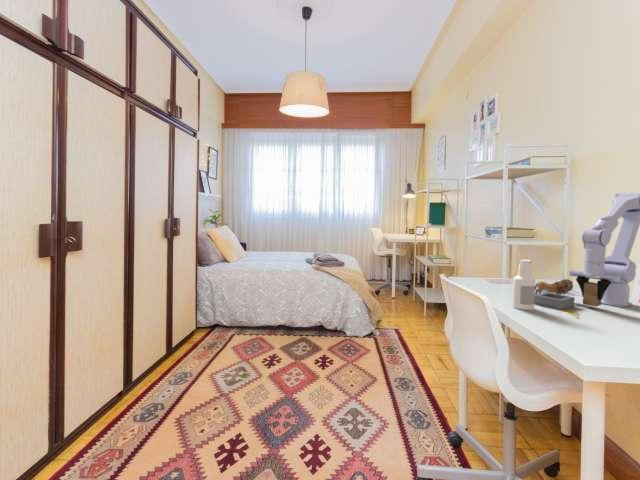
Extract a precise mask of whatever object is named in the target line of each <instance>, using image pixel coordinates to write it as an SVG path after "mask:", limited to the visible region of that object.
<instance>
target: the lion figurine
mask: <svg viewBox="0 0 640 480" xmlns="http://www.w3.org/2000/svg"><path fill="white" fill-rule="evenodd" d="M573 288H574V285H573V281H572V280H571V279H569V278H564V279H562V280H559V281H556V282H554V283H549V282H545V281H539V282H537V283H535V295H537V294H541V293H543V291H546V292H549V293H554V294H559V295H566V294H567V293H569V292H571V291H572V290H573Z"/></svg>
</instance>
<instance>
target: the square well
mask: <svg viewBox="0 0 640 480" xmlns="http://www.w3.org/2000/svg"><path fill="white" fill-rule="evenodd" d="M534 305H538V306H541V307H546V308H551V309H555V310H560V311H563V310H567V309H570V308H573V307H575V296H569V295H566V294H560V295H559V294H556V293H550V292H548V291H546V292H541V294H538V293H537V295H535V296H534Z"/></svg>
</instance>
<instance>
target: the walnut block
mask: <svg viewBox="0 0 640 480" xmlns="http://www.w3.org/2000/svg"><path fill="white" fill-rule="evenodd" d="M582 299H583V300H582V304H583V305H586V306H590V307H591V306H592V307H599V306H601V305H602V303H601V300H598V282H594V281H593V282H592V281H589V282H586V283H584V295H583V297H582Z"/></svg>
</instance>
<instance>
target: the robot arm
mask: <svg viewBox="0 0 640 480" xmlns="http://www.w3.org/2000/svg"><path fill="white" fill-rule="evenodd" d="M611 205H612V206H611V207H610V209H609V210H608V212H607V214H606V215H603V216H600V217H599V218H598V220H597V221H596V222H595V223H594V224H593V226H592V227H591V228H589V229H587V230H585V231H584V232H583V233H582V236H581V240H582V241H581V242H582V243H583V249H584V262H583V263H584V264H583V265H584V267H583V271H580V270H569V277H576V278H575V280H576V282H577V284H578V285H579V288H580V291H581V296H582V298H583V295H584V283H586V282H590V279H592V280H597V282H596V283H598V300H601V305H602V304H604V305H609V306H614V307H619V308H625V307H628V306H631V305H632V304H633V302H630V295H631V294H630V290H631V288H630V285H629V284H630V283H632V282H633V281H634V279H635V277H636V271H637V265H636V263H635V262H634V261H632V259H630V255H631V252H632V249H633V247H634V243H635V241H636V237H637V233H638V231H639V228H640V192H627V193H624V192H623V193H622V192H621V193H619V192H617V193H615V194H614V195H613V197H612V200H611ZM620 218H622V223H621V226H620V228H619V232H618V234H617V238H616V240H615V244H614V247H613V249H612V253H611V255H609V256H606V251H607V250H606V249H607V245H609V244H610V242H611V238H612V235H613V234H612V233H613V232H614V231H615V229H616V228H617V227H618V226H619V219H620Z"/></svg>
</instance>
